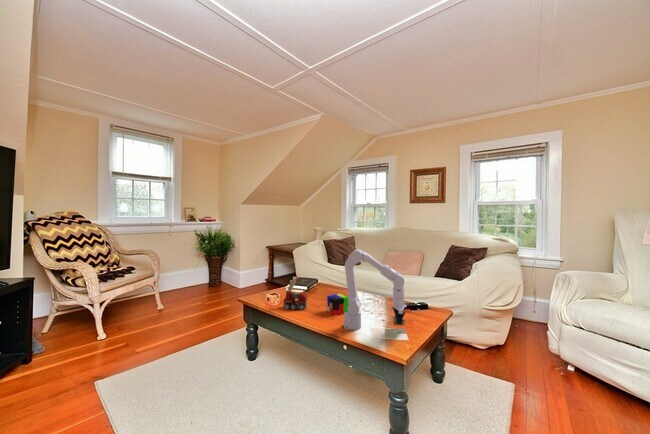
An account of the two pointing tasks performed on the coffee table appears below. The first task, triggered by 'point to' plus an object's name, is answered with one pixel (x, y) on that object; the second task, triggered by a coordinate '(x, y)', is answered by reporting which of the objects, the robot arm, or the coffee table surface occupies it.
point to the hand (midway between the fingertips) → (398, 322)
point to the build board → (380, 334)
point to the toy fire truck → (290, 298)
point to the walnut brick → (396, 321)
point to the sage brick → (390, 333)
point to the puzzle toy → (337, 304)
